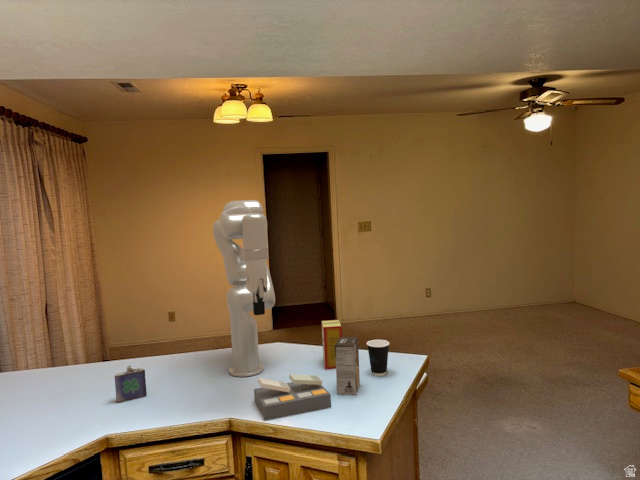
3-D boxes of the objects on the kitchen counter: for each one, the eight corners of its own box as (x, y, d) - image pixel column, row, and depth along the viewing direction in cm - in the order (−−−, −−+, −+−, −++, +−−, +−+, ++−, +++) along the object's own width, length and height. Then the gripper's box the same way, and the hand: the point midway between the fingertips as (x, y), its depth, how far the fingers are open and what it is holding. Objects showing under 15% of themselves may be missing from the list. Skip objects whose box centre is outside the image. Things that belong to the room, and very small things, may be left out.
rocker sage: (289, 378, 145) (289, 374, 145) (316, 379, 149) (316, 375, 149) (293, 383, 141) (294, 379, 141) (321, 384, 144) (322, 380, 144)
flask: (116, 403, 149) (114, 370, 148) (115, 400, 151) (113, 368, 150) (147, 396, 153) (145, 364, 153) (145, 393, 156) (143, 362, 155)
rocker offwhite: (257, 381, 142) (258, 377, 142) (285, 386, 145) (286, 382, 145) (261, 387, 137) (262, 383, 137) (289, 392, 140) (290, 388, 140)
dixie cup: (390, 369, 168) (389, 339, 167) (390, 378, 160) (389, 346, 159) (368, 369, 169) (367, 339, 168) (366, 377, 161) (365, 346, 161)
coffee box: (341, 383, 157) (339, 336, 156) (360, 384, 156) (358, 336, 155) (336, 394, 148) (334, 344, 147) (356, 395, 147) (354, 345, 146)
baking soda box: (343, 368, 171) (341, 325, 170) (325, 369, 171) (323, 326, 170) (340, 359, 181) (338, 318, 180) (323, 361, 180) (321, 319, 179)
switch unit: (254, 401, 146) (253, 384, 145) (315, 390, 152) (314, 374, 152) (265, 420, 133) (264, 402, 132) (331, 407, 139) (330, 389, 139)
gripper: (239, 253, 149) (242, 310, 150) (248, 258, 135) (252, 321, 136) (262, 252, 151) (265, 308, 153) (274, 256, 137) (277, 318, 139)
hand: (259, 314), depth 145 cm, fingers closed
